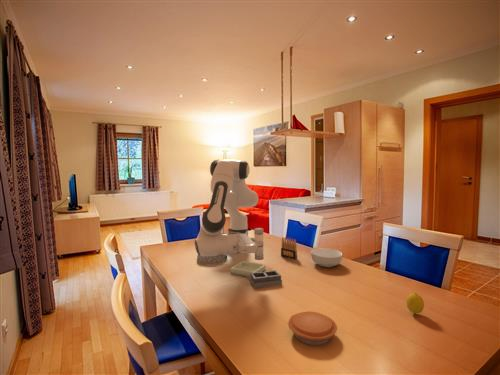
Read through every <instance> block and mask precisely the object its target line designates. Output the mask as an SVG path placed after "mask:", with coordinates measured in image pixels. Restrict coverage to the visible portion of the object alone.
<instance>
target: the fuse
mask: <svg viewBox="0 0 500 375" xmlns="http://www.w3.org/2000/svg"><path fill="white" fill-rule="evenodd" d="M253 232H254V233H253V234H254V238H255V242H258V241H262V242H263V243H264V228H262V227H256V228H254V229H253ZM264 258H265V256H264V245H263V246H258V247H257V252H256V253H254V260H256V261H263V260H264Z"/></svg>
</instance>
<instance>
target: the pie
mask: <svg viewBox="0 0 500 375" xmlns="http://www.w3.org/2000/svg"><path fill="white" fill-rule="evenodd" d="M287 325H288V328H289V329H290V331H291V332H292V333H293V335H294V336H295V337H296V339H297V340H298V341H300V342H301V343H303V344H306V345H309V346H320V345H324V344H327V343H328V342H329V341H330V340H331V338H332V337H333V336H334V335H335V334H336V332H337V330H338V325H337V324H336V322H335V321H334V320H333V319H332V318H331V317H329V316H327V315H326V314H323V313H320V312H316V311H302V312H298V313H295V314H292V315H291V316H290V318H289V320H288V323H287Z"/></svg>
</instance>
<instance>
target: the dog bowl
mask: <svg viewBox="0 0 500 375" xmlns="http://www.w3.org/2000/svg"><path fill="white" fill-rule="evenodd" d="M196 256H197V257H196V262H197V263H199V264H200V265H201V264H202V265H218V264H219V265H220V264H223V263H225V262H226V258H228V255H223V254H220V255H217V256H200V255H198V254H197V255H196Z"/></svg>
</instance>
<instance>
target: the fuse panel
mask: <svg viewBox="0 0 500 375" xmlns="http://www.w3.org/2000/svg"><path fill="white" fill-rule="evenodd" d="M249 281H250V283H251V285H252V286H253V288H254V289H259V288H260V289H261V288H265V287H266V288H268V287H274V286H281V285H282V284H283V281H282V275H281V274H280V273H279V272H278V271H277V270H276V269H275V270H267V271H266V270H265V271H264V272H255V273H250V277H249Z"/></svg>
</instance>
